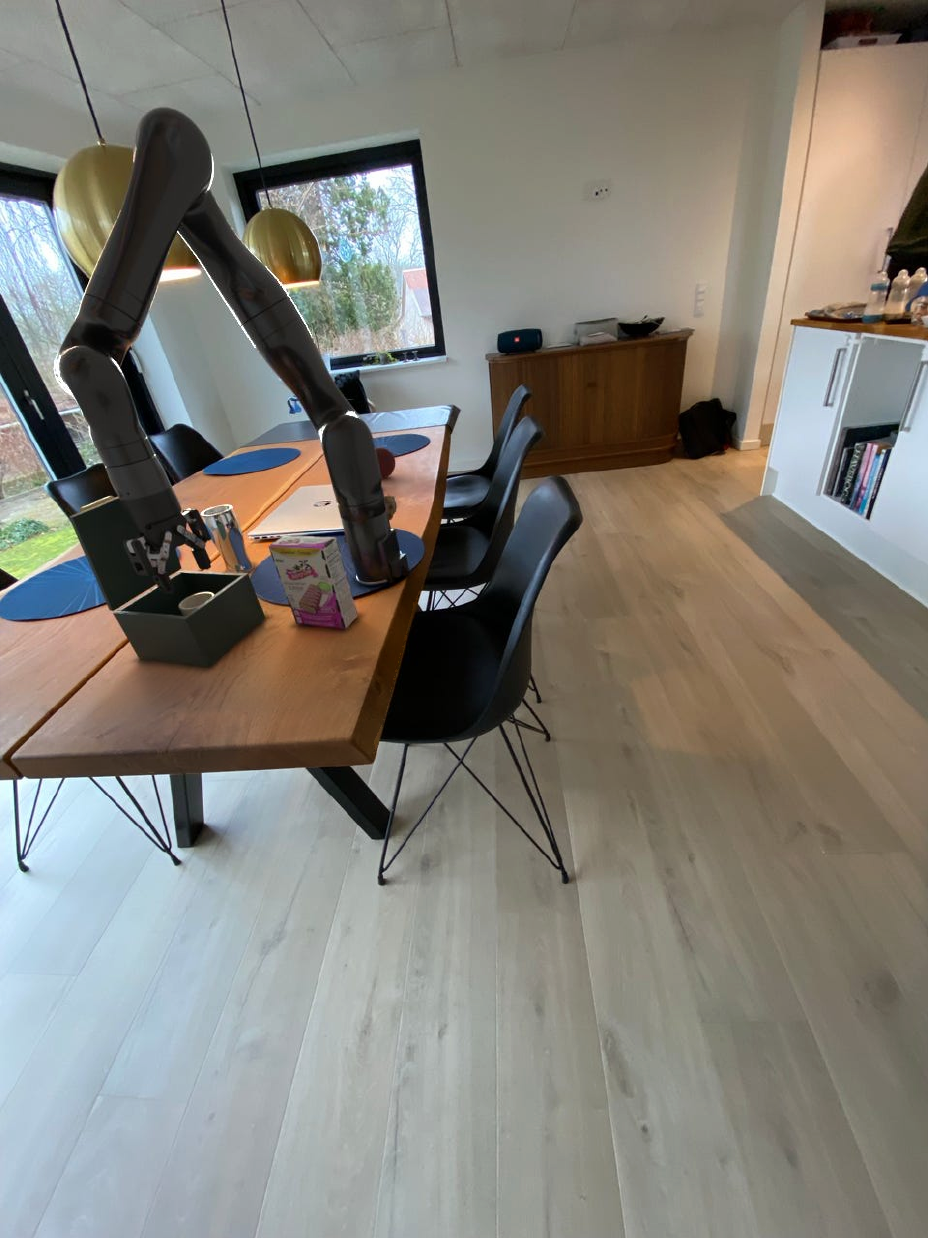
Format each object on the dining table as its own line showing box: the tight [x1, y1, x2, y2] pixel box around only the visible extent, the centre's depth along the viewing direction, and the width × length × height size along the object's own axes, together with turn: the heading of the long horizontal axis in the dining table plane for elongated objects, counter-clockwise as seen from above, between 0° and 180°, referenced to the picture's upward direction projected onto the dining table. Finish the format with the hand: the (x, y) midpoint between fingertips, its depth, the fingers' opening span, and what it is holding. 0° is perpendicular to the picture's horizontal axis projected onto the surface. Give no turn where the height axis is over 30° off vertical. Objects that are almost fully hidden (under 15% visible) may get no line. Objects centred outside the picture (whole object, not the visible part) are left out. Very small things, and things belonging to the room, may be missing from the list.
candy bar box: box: [267, 534, 359, 630], centre depth 91 cm, size 11×5×16 cm, turn 71°
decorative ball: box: [375, 446, 396, 479], centre depth 170 cm, size 10×10×10 cm
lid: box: [68, 495, 182, 612], centre depth 89 cm, size 17×16×6 cm
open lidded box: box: [112, 569, 267, 669], centre depth 93 cm, size 16×16×10 cm
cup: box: [179, 592, 214, 616], centre depth 93 cm, size 6×6×8 cm
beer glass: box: [200, 504, 255, 573], centre depth 117 cm, size 7×7×15 cm
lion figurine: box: [344, 494, 398, 540], centre depth 127 cm, size 15×5×9 cm, turn 110°
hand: (188, 580), depth 88 cm, fingers open, 8 cm apart
